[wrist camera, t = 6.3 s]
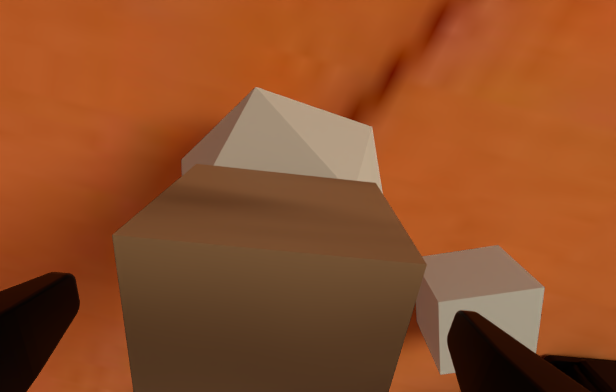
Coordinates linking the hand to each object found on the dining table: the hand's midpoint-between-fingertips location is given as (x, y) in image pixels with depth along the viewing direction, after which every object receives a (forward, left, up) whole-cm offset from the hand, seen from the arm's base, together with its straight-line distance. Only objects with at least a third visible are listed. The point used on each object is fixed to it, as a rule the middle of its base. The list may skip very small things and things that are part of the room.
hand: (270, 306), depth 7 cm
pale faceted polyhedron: (0, 0, -10) cm, 10 cm away
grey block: (-6, -11, -10) cm, 16 cm away
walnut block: (0, 0, -2) cm, 2 cm away
